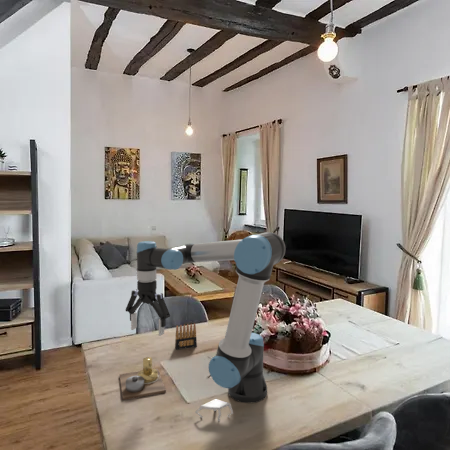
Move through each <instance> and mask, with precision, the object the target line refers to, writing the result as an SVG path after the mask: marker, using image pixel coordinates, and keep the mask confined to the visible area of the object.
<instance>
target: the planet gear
mask: <svg viewBox="0 0 450 450" xmlns="http://www.w3.org/2000/svg"><path fill="white" fill-rule="evenodd" d="M155 369H156V368H153V358H152V357H150V356H145V357H143V359H142V369H141V370H140V371H139V370H138V371H139V372H138V371H137V372H138V376H142V377H143V378H144V383H150V382H153V381H155V380H156V379H157V378H158V372H157V370H155Z"/></svg>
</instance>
